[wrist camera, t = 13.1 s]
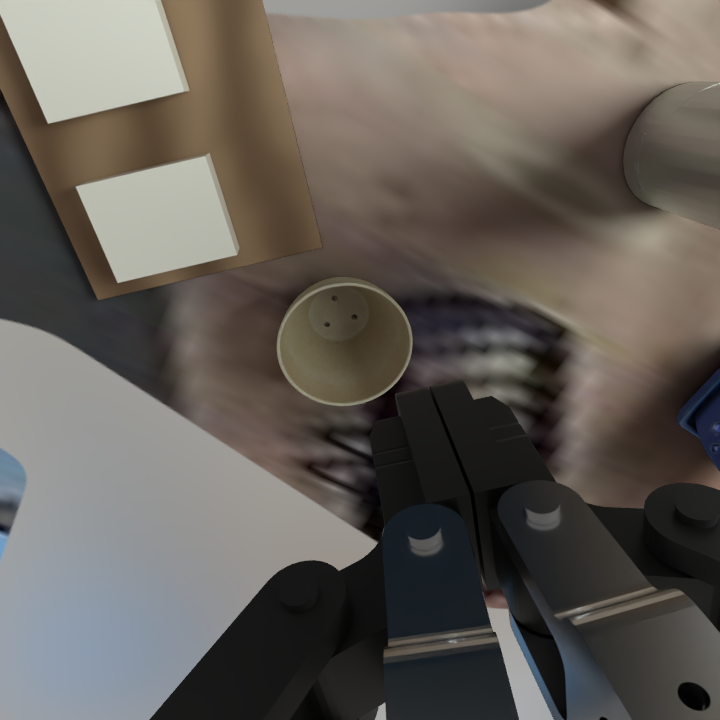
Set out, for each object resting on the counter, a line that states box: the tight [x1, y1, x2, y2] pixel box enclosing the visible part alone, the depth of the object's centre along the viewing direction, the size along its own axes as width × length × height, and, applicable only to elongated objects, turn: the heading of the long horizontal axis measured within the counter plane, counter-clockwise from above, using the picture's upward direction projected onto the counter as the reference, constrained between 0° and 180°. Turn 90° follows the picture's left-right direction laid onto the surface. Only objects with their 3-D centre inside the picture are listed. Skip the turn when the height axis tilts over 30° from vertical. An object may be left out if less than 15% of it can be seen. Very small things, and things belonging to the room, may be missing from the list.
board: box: [0, 0, 323, 300], centre depth 38 cm, size 18×21×1 cm
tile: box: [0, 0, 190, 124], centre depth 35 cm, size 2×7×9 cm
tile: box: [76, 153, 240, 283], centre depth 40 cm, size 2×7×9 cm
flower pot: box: [276, 277, 412, 406], centre depth 43 cm, size 10×10×7 cm
